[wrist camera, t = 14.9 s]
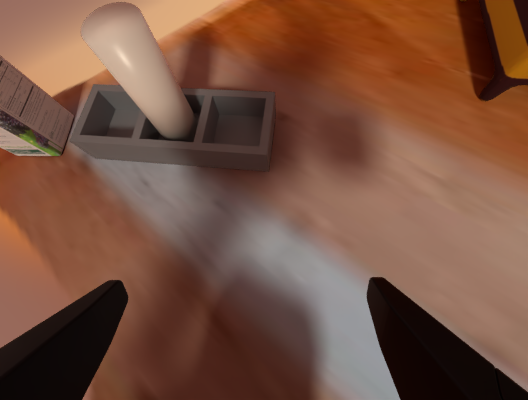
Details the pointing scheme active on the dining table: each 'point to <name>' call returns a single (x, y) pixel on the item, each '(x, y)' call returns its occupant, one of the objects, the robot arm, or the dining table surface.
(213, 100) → the caddy
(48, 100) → the syrup box
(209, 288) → the dining table surface
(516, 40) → the decorative lantern
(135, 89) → the beige tapered cylinder
